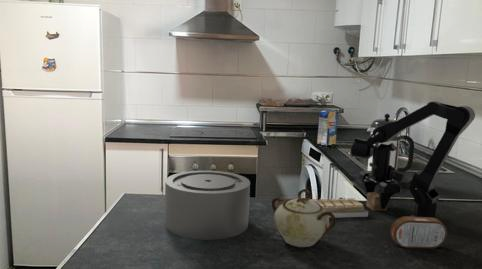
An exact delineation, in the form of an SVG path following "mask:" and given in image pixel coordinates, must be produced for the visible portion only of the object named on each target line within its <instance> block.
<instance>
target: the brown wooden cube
mask: <svg viewBox="0 0 482 269" xmlns="http://www.w3.org/2000/svg"><path fill="white" fill-rule="evenodd" d="M366 207H367V208H368V209H370V210H372V211H378V210H379V211H387V210H388V205H387V206H386V208H385V209H382V208H381V204H380V199H379V193H378V191H377V192H376V191H374V192H373V193H368V194H366Z"/></svg>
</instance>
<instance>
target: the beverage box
mask: <svg viewBox="0 0 482 269" xmlns="http://www.w3.org/2000/svg"><path fill="white" fill-rule="evenodd" d="M318 114H319V116H318V129H317V140H316V142H317V143H316V145H317V144H321V145H326V146H327V145H332V144H337V131H338V120H339V119H338V118H339V111H337V110H321V111H319V113H318Z"/></svg>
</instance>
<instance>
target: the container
mask: <svg viewBox="0 0 482 269" xmlns="http://www.w3.org/2000/svg"><path fill="white" fill-rule="evenodd" d="M164 180H165V181H164V182H165V183H164V185H165V186H164V187H165V188H164V227H165V228H166V230H167V231H168V232H170V233H172V234H173V235H175V236H178V237H181V238H186V239H190V240H191V239H192V240H197V241H198V240H199V241H213V240H215V241H216V240H226V239H230V238H233V237H237V236H238V235H241V234H243V233H244V232H246V230H248V227H249V216H250V215H249V214H250V213H249V212H250V194H251V191H250V190H251V181H250V179H249V178H247V177H245V176H243V175H240V174H237V173H233V172H227V171H219V170H189V171H181V172H177V173H175V174H171V175H169V176H168V177H167V178H165V179H164Z"/></svg>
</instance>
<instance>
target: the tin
mask: <svg viewBox="0 0 482 269" xmlns="http://www.w3.org/2000/svg"><path fill="white" fill-rule="evenodd" d="M389 232H390V237H391V238H392V240H393V241H394V242H395V243H396V244H397V245H398V246H400V247H402V248H405V249H406V248H407V249H408V248H409V249H436V248H437V249H438V248H439V247H441V246H442V245H443V244H444V243H445V242H446V239H447V236H448V230H447V227H446V225H444V223H443V222H442V221H441V220H440V219H438V218H432V217H411V216H401V217H398V218H397V219H396V220H395V221H394V222H393V223H392V224H391V226H390V231H389Z"/></svg>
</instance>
